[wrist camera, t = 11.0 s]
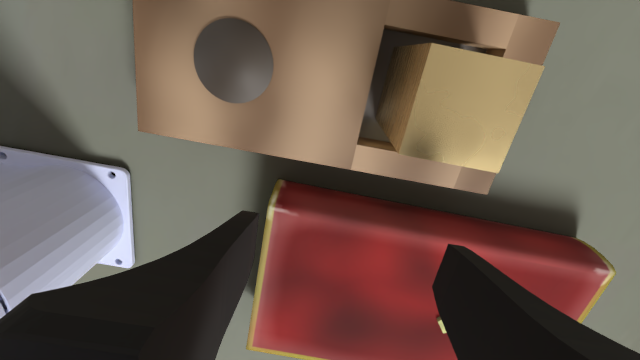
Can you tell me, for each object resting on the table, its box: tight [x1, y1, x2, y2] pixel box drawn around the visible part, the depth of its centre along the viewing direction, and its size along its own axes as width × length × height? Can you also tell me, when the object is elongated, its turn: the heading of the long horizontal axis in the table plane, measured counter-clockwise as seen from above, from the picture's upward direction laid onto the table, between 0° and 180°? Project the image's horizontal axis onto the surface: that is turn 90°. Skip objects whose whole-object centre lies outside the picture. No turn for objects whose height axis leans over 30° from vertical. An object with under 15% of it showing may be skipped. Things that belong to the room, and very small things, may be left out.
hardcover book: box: [246, 179, 616, 360], centre depth 22 cm, size 12×21×4 cm, turn 79°
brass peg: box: [375, 43, 545, 173], centre depth 15 cm, size 4×4×7 cm
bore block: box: [133, 0, 560, 195], centre depth 17 cm, size 20×9×3 cm, turn 80°
